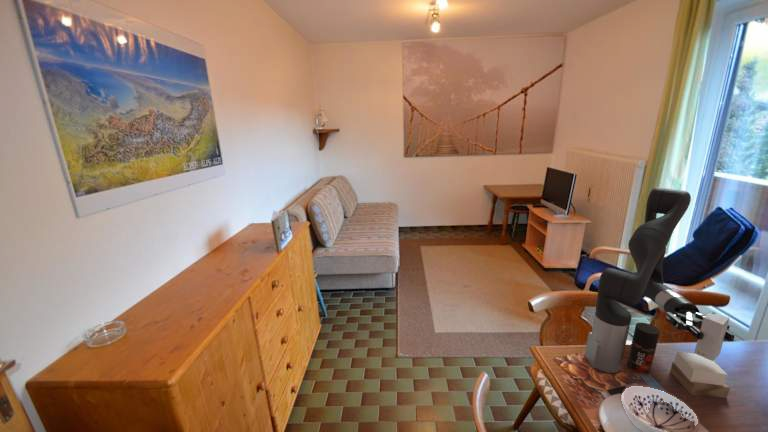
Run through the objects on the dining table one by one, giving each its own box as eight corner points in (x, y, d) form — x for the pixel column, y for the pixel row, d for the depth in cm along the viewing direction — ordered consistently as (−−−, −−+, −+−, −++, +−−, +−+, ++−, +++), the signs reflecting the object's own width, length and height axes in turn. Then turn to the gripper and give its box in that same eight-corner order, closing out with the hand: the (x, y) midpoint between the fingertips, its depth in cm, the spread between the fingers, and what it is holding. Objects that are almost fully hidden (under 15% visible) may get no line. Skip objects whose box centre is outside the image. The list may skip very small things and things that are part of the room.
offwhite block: (690, 381, 94) (693, 370, 93) (673, 362, 101) (676, 351, 100) (723, 385, 92) (727, 374, 91) (704, 366, 100) (707, 355, 99)
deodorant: (647, 364, 106) (656, 325, 102) (652, 377, 101) (662, 336, 97) (625, 359, 108) (633, 320, 104) (629, 371, 103) (638, 331, 99)
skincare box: (713, 362, 91) (724, 325, 88) (692, 352, 95) (702, 317, 92) (720, 353, 94) (731, 318, 91) (700, 345, 98) (710, 310, 95)
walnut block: (690, 395, 94) (694, 384, 93) (669, 372, 103) (672, 362, 102) (726, 398, 93) (730, 387, 92) (701, 375, 101) (705, 365, 100)
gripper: (654, 294, 107) (691, 325, 91) (702, 296, 105) (750, 328, 89) (649, 314, 109) (685, 347, 94) (697, 316, 107) (742, 350, 91)
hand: (716, 337), depth 91 cm, fingers closed on skincare box, 7 cm apart
